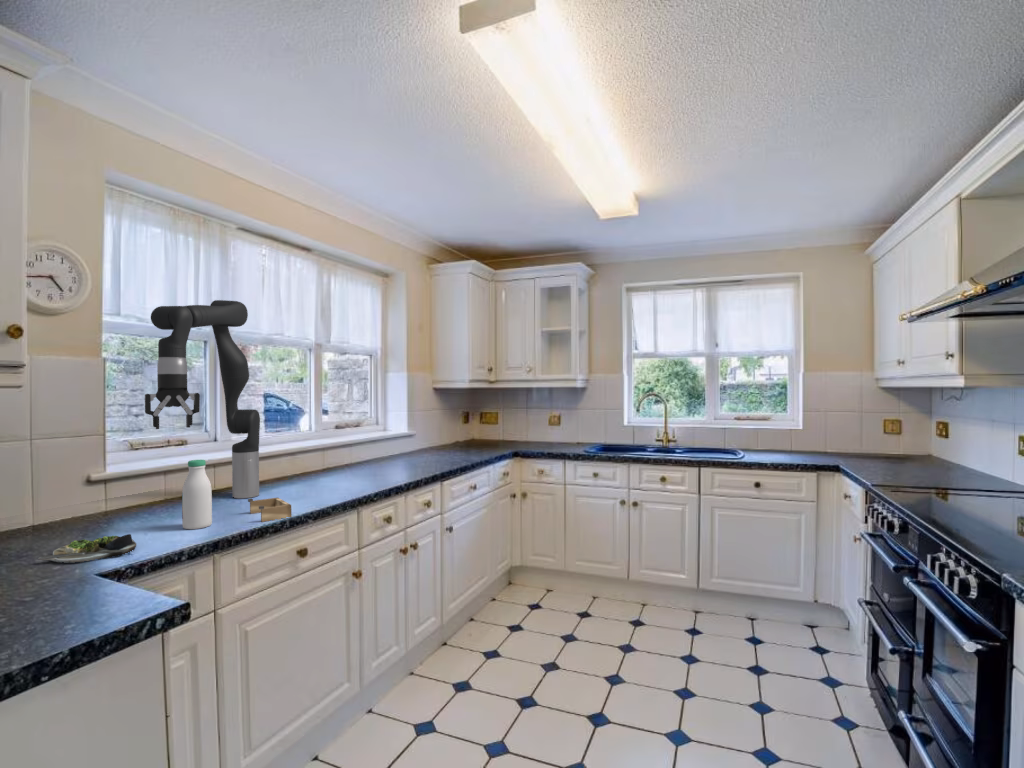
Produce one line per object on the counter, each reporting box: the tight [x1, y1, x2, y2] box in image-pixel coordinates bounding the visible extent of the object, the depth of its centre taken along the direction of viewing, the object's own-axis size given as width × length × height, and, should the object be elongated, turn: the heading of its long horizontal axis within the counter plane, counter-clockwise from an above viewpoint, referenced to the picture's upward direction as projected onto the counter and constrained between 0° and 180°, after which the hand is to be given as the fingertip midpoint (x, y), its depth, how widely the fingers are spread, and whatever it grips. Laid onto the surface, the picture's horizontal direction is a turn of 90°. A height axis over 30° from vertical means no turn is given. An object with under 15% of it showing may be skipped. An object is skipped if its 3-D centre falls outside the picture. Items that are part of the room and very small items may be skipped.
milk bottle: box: [181, 459, 213, 530], centre depth 162 cm, size 8×8×20 cm
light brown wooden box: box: [247, 497, 292, 523], centre depth 174 cm, size 15×9×5 cm, turn 39°
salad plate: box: [37, 533, 137, 564], centre depth 136 cm, size 19×18×5 cm
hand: (172, 428), depth 159 cm, fingers open, 7 cm apart
